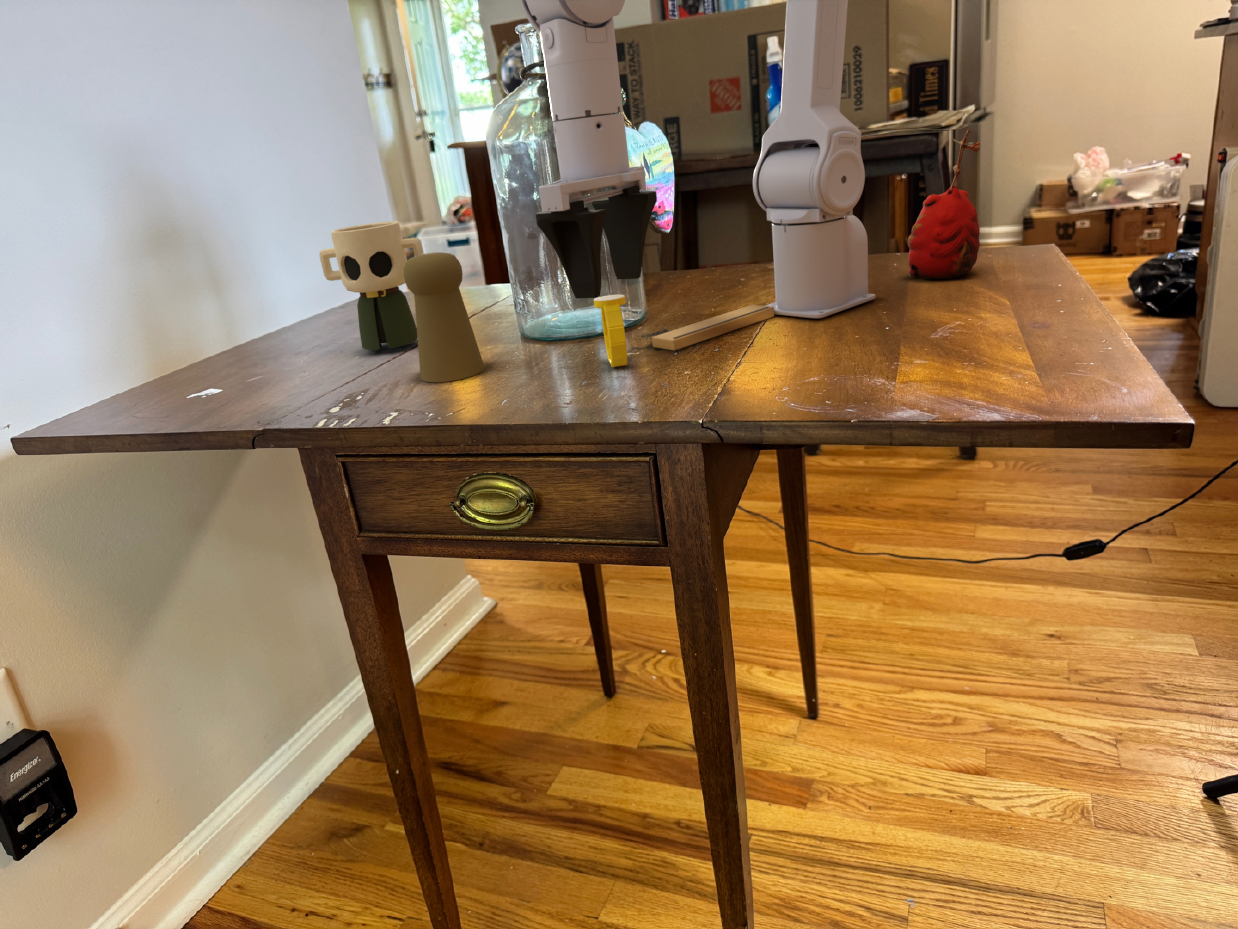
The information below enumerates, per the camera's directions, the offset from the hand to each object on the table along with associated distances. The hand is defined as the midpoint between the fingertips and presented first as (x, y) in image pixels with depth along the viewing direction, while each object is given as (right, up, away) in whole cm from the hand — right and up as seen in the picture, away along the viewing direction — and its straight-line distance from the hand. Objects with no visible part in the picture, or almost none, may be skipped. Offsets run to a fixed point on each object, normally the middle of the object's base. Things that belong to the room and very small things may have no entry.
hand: (609, 287), depth 73 cm
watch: (+1, -6, +3) cm, 7 cm away
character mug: (-24, -3, +20) cm, 32 cm away
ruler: (+10, -2, +10) cm, 14 cm away
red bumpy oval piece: (+37, +5, +21) cm, 43 cm away
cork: (-15, -7, +7) cm, 18 cm away
